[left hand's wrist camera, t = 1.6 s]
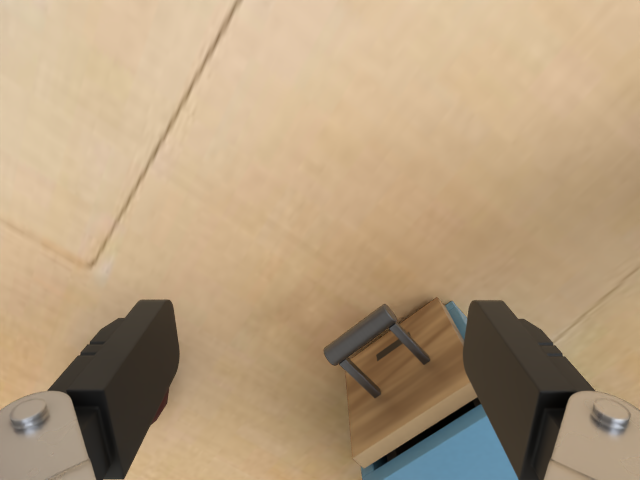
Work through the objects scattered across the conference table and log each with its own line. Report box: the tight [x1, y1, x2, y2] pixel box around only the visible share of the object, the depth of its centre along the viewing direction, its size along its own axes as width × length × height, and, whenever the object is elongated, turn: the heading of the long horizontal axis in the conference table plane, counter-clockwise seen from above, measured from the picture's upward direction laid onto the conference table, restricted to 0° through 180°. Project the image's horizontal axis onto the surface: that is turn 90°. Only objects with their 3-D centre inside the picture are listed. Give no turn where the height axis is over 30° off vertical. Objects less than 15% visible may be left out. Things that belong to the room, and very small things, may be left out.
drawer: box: [324, 297, 481, 468], centre depth 32 cm, size 26×10×10 cm, turn 42°
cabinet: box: [361, 301, 519, 480], centre depth 34 cm, size 22×11×12 cm, turn 42°
